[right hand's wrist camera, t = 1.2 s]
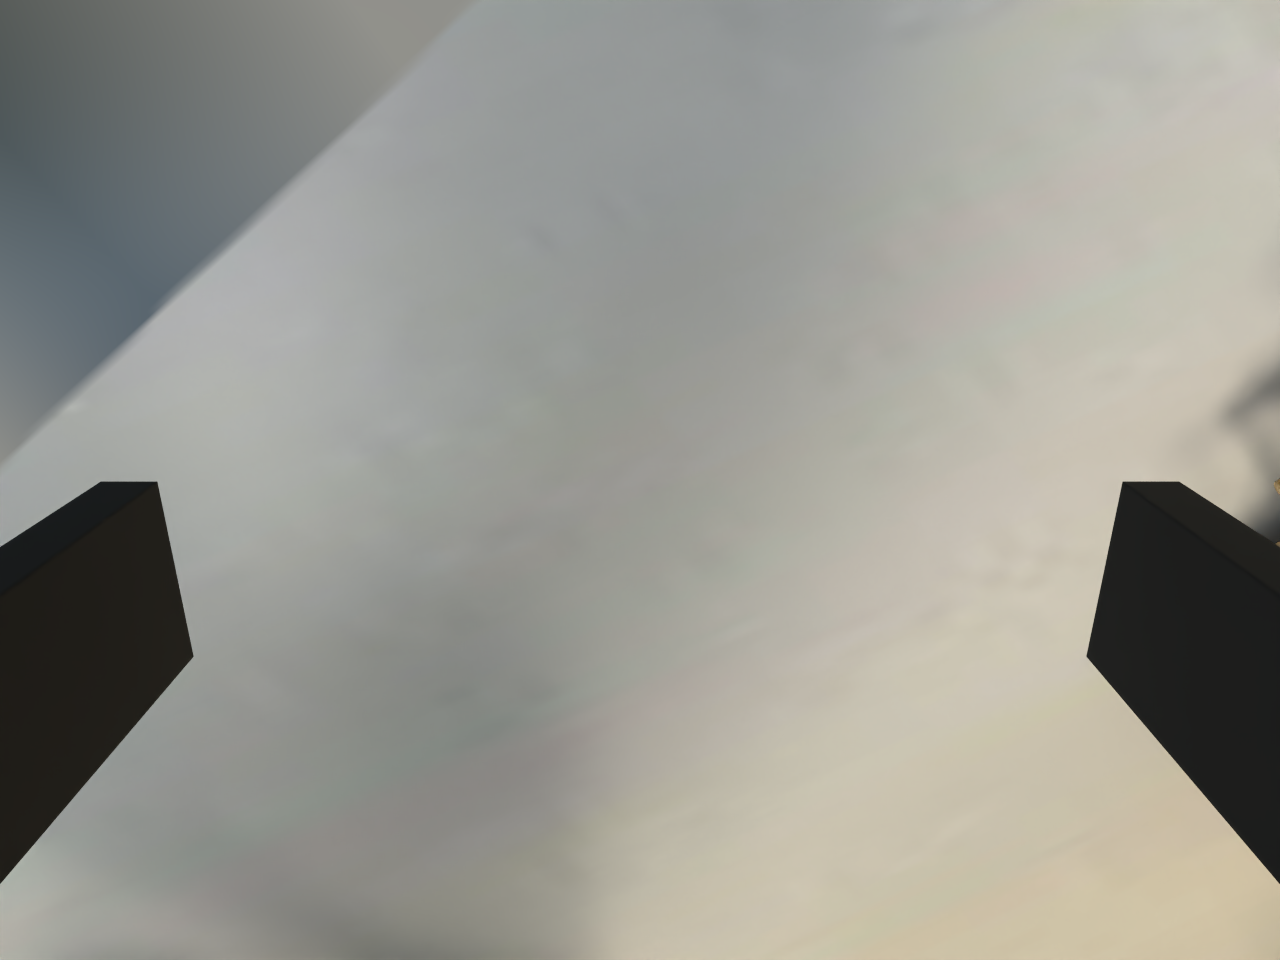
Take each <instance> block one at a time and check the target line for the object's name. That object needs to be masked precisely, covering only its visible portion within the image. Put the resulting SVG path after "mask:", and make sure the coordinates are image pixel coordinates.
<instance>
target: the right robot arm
mask: <svg viewBox="0 0 1280 960" xmlns="http://www.w3.org/2000/svg"><path fill="white" fill-rule="evenodd" d="M192 658H193V652H192V647H191V642H190V637H189V633H188V628H187V623H186V618H185V613H184V608H183V604H182V599H181V594H180V589H179V584H178V579H177V575H176V570H175V565H174V560H173V555H172V550H171V546H170V541H169V536H168V531H167V526H166V522H165V517H164V512H163V507H162V502H161V497H160V493H159V488H158V483H157V482H100V483H98V484H97V485H95V486H94V487H92V488H90V489H89V490H87V491H86V492H84V493H83V494H81V495H80V496H78V497H77V498H75V499H74V500H72V501H70V502H69V503H67V504H66V505H64V506H63V507H61V508H60V509H58V510H57V511H55V512H54V513H52V514H50V515H49V516H47V517H46V518H44V519H43V520H41V521H40V522H38V523H37V524H35V525H34V526H32V527H30V528H29V529H27V530H26V531H24V532H23V533H21V534H20V535H18V536H17V537H15V538H14V539H12V540H10V541H9V542H7V543H6V544H4V545H3V546H1V547H0V884H1V882H2V881H3V880H4V879H5V878H6V876H7V875H8V874H9V873H10V872H11V871H12V869H13V868H14V867H15V866H16V865H17V864H18V862H19V861H20V860H21V859H22V858H23V856H24V855H25V854H26V853H27V852H28V851H29V849H30V848H31V847H32V846H33V845H34V844H35V842H36V841H37V840H38V839H39V838H40V836H41V835H42V834H43V833H44V832H45V831H46V829H47V828H48V827H49V826H50V825H51V824H52V822H53V821H54V820H55V819H56V818H57V816H58V815H59V814H60V813H61V812H62V811H63V809H64V808H65V807H66V806H67V805H68V804H69V802H70V801H71V800H72V799H73V798H74V796H75V795H76V794H77V793H78V792H79V791H80V789H81V788H82V787H83V786H84V785H85V784H86V782H87V781H88V780H89V779H90V778H91V776H92V775H93V774H94V773H95V772H96V771H97V769H98V768H99V767H100V766H101V765H102V764H103V762H104V761H105V760H106V759H107V758H108V756H109V755H110V754H111V753H112V752H113V751H114V749H115V748H116V747H117V746H118V745H119V744H120V742H121V741H122V740H123V739H124V738H125V736H126V735H127V734H128V733H129V732H130V731H131V729H132V728H133V727H134V726H135V725H136V724H137V722H138V721H139V720H140V719H141V718H142V716H143V715H144V714H145V713H146V712H147V711H148V709H149V708H150V707H151V706H152V705H153V704H154V702H155V701H156V700H157V699H158V698H159V696H160V695H161V694H162V693H163V692H164V691H165V689H166V688H167V687H168V686H169V685H170V684H171V682H172V681H173V680H174V679H175V678H176V677H177V675H178V674H179V673H180V672H181V671H182V669H183V668H184V667H185V666H186V665H187V664H188V662H189V661H190V660H191V659H192ZM1087 658H1088V659H1089V660H1090V661H1091V662H1092V664H1093V665H1094V666H1095V667H1096V668H1097V669H1098V671H1099V672H1100V673H1101V674H1102V675H1103V677H1104V678H1105V679H1106V680H1107V681H1108V682H1109V684H1110V685H1111V686H1112V687H1113V688H1114V689H1115V691H1116V692H1117V693H1118V694H1119V695H1120V696H1121V698H1122V699H1123V700H1124V701H1125V702H1126V704H1127V705H1128V706H1129V707H1130V708H1131V709H1132V711H1133V712H1134V713H1135V714H1136V715H1137V716H1138V718H1139V719H1140V720H1141V721H1142V722H1143V724H1144V725H1145V726H1146V727H1147V728H1148V729H1149V731H1150V732H1151V733H1152V734H1153V735H1154V736H1155V738H1156V739H1157V740H1158V741H1159V742H1160V744H1161V745H1162V746H1163V747H1164V748H1165V749H1166V751H1167V752H1168V753H1169V754H1170V755H1171V756H1172V758H1173V759H1174V760H1175V761H1176V762H1177V764H1178V765H1179V766H1180V767H1181V768H1182V769H1183V771H1184V772H1185V773H1186V774H1187V775H1188V776H1189V778H1190V779H1191V780H1192V781H1193V782H1194V784H1195V785H1196V786H1197V787H1198V788H1199V789H1200V791H1201V792H1202V793H1203V794H1204V795H1205V796H1206V798H1207V799H1208V800H1209V801H1210V802H1211V804H1212V805H1213V806H1214V807H1215V808H1216V809H1217V811H1218V812H1219V813H1220V814H1221V815H1222V816H1223V818H1224V819H1225V820H1226V821H1227V822H1228V824H1229V825H1230V826H1231V827H1232V828H1233V829H1234V831H1235V832H1236V833H1237V834H1238V835H1239V836H1240V838H1241V839H1242V840H1243V841H1244V842H1245V844H1246V845H1247V846H1248V847H1249V848H1250V849H1251V851H1252V852H1253V853H1254V854H1255V855H1256V856H1257V858H1258V859H1259V860H1260V861H1261V862H1262V864H1263V865H1264V866H1265V867H1266V868H1267V869H1268V871H1269V872H1270V873H1271V874H1272V875H1273V876H1274V878H1275V879H1276V880H1277V881H1278V882H1279V884H1280V547H1279V546H1277V545H1276V544H1274V543H1273V542H1271V541H1270V540H1268V539H1266V538H1265V537H1263V536H1262V535H1260V534H1259V533H1257V532H1256V531H1254V530H1253V529H1251V528H1250V527H1248V526H1246V525H1245V524H1243V523H1242V522H1240V521H1239V520H1237V519H1236V518H1234V517H1233V516H1231V515H1230V514H1228V513H1226V512H1225V511H1223V510H1222V509H1220V508H1219V507H1217V506H1216V505H1214V504H1213V503H1211V502H1210V501H1208V500H1206V499H1205V498H1203V497H1202V496H1200V495H1199V494H1197V493H1196V492H1194V491H1193V490H1191V489H1190V488H1188V487H1186V486H1185V485H1183V484H1182V483H1180V482H1123V483H1122V488H1121V493H1120V497H1119V502H1118V507H1117V512H1116V517H1115V522H1114V526H1113V531H1112V536H1111V541H1110V546H1109V550H1108V555H1107V560H1106V565H1105V570H1104V575H1103V579H1102V584H1101V589H1100V594H1099V599H1098V604H1097V608H1096V613H1095V618H1094V623H1093V628H1092V633H1091V637H1090V642H1089V647H1088V652H1087Z"/></svg>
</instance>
